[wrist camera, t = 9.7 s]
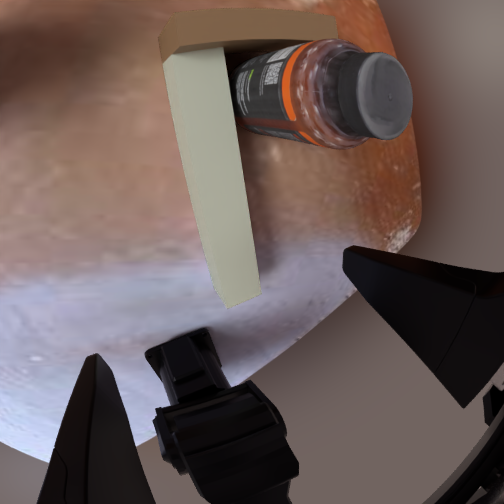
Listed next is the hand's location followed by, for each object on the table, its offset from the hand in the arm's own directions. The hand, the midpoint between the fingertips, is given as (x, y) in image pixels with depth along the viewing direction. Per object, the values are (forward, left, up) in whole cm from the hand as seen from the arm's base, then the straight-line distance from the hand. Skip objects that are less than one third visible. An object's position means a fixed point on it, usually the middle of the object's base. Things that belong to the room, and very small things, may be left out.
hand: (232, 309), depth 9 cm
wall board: (+1, -7, -13) cm, 14 cm away
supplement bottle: (+6, -8, -13) cm, 16 cm away
